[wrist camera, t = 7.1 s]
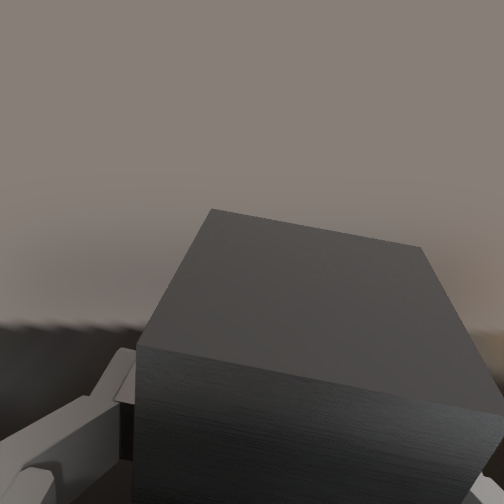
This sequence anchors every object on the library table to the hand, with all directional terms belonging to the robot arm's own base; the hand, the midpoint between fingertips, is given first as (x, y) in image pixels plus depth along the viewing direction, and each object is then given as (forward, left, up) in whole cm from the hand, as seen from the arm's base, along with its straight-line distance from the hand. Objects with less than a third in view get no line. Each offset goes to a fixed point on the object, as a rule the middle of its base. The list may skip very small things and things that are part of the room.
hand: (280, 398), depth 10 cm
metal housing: (0, -1, -6) cm, 6 cm away
